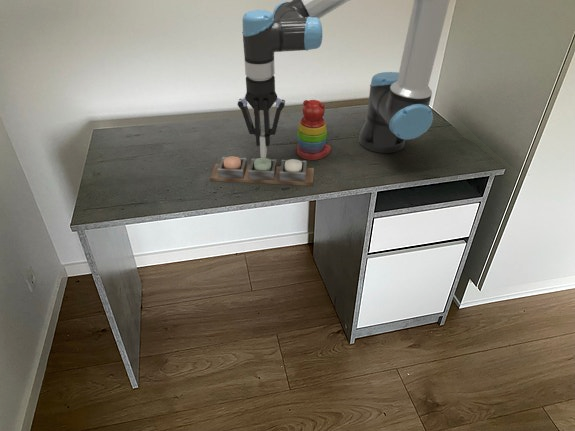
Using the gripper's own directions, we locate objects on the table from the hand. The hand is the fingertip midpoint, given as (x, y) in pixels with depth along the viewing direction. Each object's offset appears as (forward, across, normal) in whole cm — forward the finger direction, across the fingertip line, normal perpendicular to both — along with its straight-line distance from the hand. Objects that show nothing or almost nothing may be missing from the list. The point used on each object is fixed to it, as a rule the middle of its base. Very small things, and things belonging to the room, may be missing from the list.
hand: (263, 155), depth 135 cm
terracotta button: (+5, +9, 0) cm, 11 cm away
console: (+7, 0, 0) cm, 7 cm away
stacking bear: (+8, -14, -15) cm, 21 cm away
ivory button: (+6, -9, 0) cm, 10 cm away
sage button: (+5, 0, 0) cm, 5 cm away
